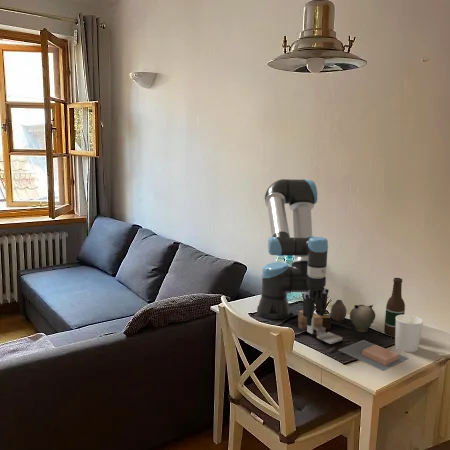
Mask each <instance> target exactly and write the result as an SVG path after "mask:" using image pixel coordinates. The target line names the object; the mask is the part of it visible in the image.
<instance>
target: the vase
mask: <svg viewBox="0 0 450 450" xmlns="http://www.w3.org/2000/svg"><path fill="white" fill-rule="evenodd" d="M347 312H348V311H347V307H346V305H345V303H344V302H343V300H342V299H337V300H336V301H335V302H334V303H333V304H332V306H331V308H330V315H331V318H332V319H333V320H334V321H337V322H341V321H343V320H345V318H346V317H347Z"/></svg>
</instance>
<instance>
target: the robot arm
mask: <svg viewBox="0 0 450 450" xmlns="http://www.w3.org/2000/svg"><path fill="white" fill-rule="evenodd" d="M264 203H265V206H266V207H267V210H268V217H269V225H270V233H271V237H269V238H268V240H267V241H268V242H267V251H268V254H269V255H271V256H278V257H279V256H280V257H281V256H283V257H284V256H287V257H288V256H294V260H293V261H291V266H289V264H288V263H286V262H285V261H284V262H281V261H277V262H270V263H267V264H265V265H264V266H263V267H262V270H261V294H260V295H261V296H260V299H259V303H258V306H257V308H256V313H257V315H258V316H260V317H262V318H264V319H268V320H282V319H286V318H289V317H290V315H291V308H290V304H289V302H288V298H287V297H288V293H302V295H301V297H302V299H303V300H302V304H303V305H302V310H303V316H305V317H307V327H306V332H307V333H309V334H311V335H313V334H314V331H317V328H315V327H314V318H312V317H313V313H314V312H315V311H316V313H315V314H317V315H319V316H322V317H324V315H325V313H326V311H327V304H328V303H327V302H328V295H329V292H330V291H329V288H325V287H326V285H327V284H326V282H327V277H326V276H327V264H328V263H327V262H328V250H329V244H328V243H329V241H328V239H327V238H326V237H322V236H313V225H312V224H313V223H312V222H313V221H312V220H313V219H312V210H313V209H314V208H315V205H316V204H317V203H318V189H317V185H316V183H315V181H314V180H312V179H305V178H303V179H288V178H287V179H285V178H284V179H282V178H281V179H278V180H276V181H274V182H273V183H271V184H270V185H269V187H268V188H267V189H266V191H265V194H264ZM287 204H288V205H289V209H291V211H292V222H293V223H292V224H293V237H291V236H290V230H289V224H288V218H287V212H286V207H285V205H287Z"/></svg>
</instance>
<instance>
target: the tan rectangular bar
mask: <svg viewBox="0 0 450 450" xmlns="http://www.w3.org/2000/svg"><path fill="white" fill-rule="evenodd" d="M399 354H400V353H396V352H395V351H393V350H390V349H387V348H385V347H383V348H382V346H379V345H377V344H375V345H373V346H371V347H368V348H366V349H364V350H362V355H363V356H365V357H368V358H370V359H372V360H374V361H377V362H379V363H381V364H383V365H387V364H389V363H392V362H394V361H396V360H398V358H399Z"/></svg>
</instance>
